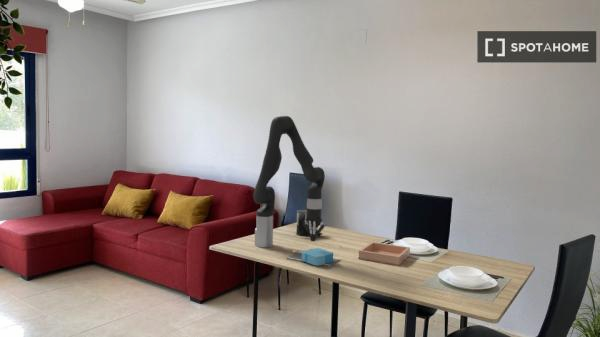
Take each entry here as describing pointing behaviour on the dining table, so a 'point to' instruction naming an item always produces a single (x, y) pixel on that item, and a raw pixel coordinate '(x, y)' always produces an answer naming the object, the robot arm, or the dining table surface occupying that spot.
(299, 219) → the milk frother
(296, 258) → the mat
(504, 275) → the dining table surface
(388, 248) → the planter saucer
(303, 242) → the dining table surface
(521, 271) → the dining table surface
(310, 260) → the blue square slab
